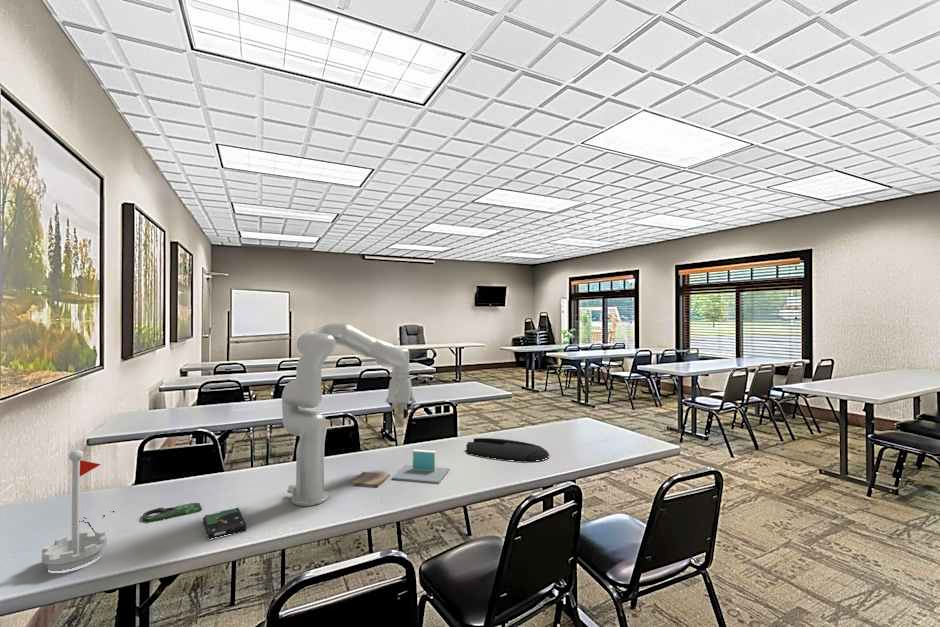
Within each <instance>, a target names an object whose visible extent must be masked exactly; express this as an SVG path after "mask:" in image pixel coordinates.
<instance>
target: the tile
mask: <svg viewBox="0 0 940 627" xmlns="http://www.w3.org/2000/svg"><path fill="white" fill-rule="evenodd" d="M412 465H413V470H424V471H436V467H437V450H425V449H413V450H412Z"/></svg>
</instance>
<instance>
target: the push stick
mask: <svg viewBox="0 0 940 627" xmlns="http://www.w3.org/2000/svg"><path fill="white" fill-rule="evenodd" d="M405 426H407V418H405V419H404V403H395V418H394V427H397V428H404V427H405Z"/></svg>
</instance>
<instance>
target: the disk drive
mask: <svg viewBox="0 0 940 627" xmlns="http://www.w3.org/2000/svg"><path fill="white" fill-rule="evenodd" d="M202 520H203V522H202V523H203V526H204V530H205V532H207V533H206V535H208V536H207V538H209V539H211V538H215V537H220V536H224V535H228V534H232V535H234V534H233V533H236V534H239V533H238V532H240V533H243V531H244V532H247V531H246V530H247V528H248V527H247V526H248V525H247V522H246V520H245V518H244V516H243V515H242V513H241V510H240V509H239V507H235V508H231V509H227V510H221V511H220V512H215V513H212V514H211V513H210V514H205V515H204V516H203V517H202ZM228 536H229V535H228ZM224 537H225V536H224ZM209 539H208V540H209Z"/></svg>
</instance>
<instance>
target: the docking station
mask: <svg viewBox="0 0 940 627" xmlns="http://www.w3.org/2000/svg"><path fill="white" fill-rule="evenodd" d="M465 447H466V448H465V449H467V450H466V453H467V452H468V453H467V454H468V455H469V454H473V455H478V456H483V457H489V458H496V459H503V460H514V461H536V460H542V459H545V458H547V457H548V456H549V457H550V453H549V452H548V451H547V449H546V448H543V447H542V446H540V445H538V444H533V443H529V442H523V441H519V440H513V439H505V438H504V439H503V438H491V437H480V438H479V437H477V438H475V437H474V438H473V441H467V444H466V446H465ZM473 455H472V456H473ZM478 456H477V457H478ZM483 457H482V458H483ZM489 458H488V459H489ZM503 460H502V461H503Z"/></svg>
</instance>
